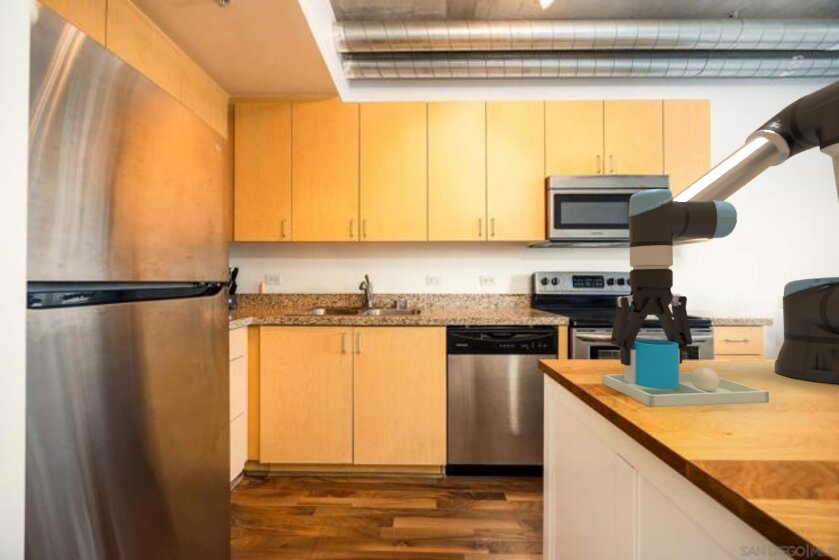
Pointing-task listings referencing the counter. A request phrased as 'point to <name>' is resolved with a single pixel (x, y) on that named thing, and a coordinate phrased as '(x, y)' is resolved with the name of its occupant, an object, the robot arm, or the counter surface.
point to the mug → (657, 363)
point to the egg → (705, 379)
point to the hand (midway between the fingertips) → (651, 380)
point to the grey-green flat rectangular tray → (687, 392)
